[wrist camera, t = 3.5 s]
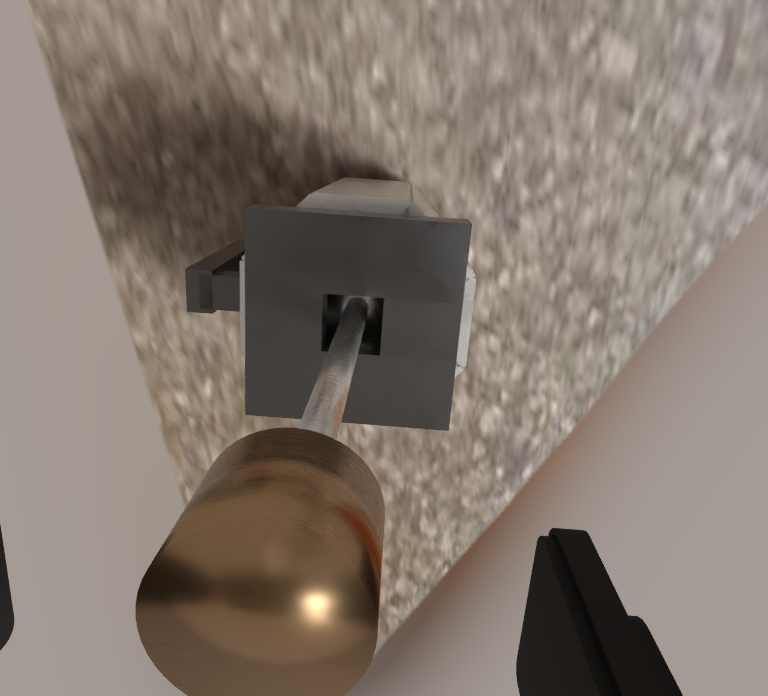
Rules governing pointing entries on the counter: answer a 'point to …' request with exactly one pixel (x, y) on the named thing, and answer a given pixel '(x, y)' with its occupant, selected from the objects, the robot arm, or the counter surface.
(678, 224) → the counter surface
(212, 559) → the plunger
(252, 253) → the french press
